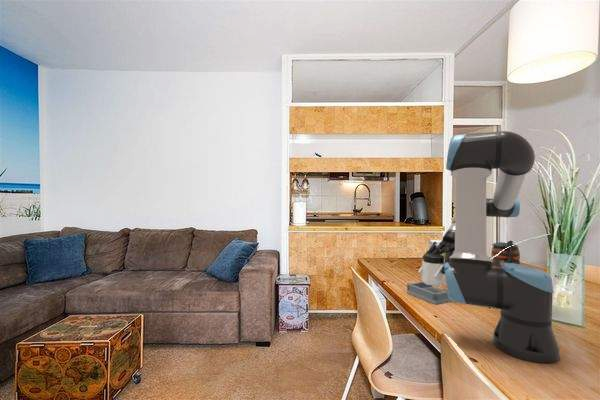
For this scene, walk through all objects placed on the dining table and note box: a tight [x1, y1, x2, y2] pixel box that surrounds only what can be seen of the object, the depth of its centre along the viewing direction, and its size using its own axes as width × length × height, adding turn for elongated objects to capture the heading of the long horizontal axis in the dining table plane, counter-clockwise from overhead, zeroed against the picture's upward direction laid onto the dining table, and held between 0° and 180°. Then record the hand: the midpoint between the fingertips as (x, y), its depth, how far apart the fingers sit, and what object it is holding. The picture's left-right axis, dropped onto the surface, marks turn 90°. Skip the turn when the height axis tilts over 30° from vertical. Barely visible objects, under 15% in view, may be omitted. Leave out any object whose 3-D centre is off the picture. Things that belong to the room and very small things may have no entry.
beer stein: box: [490, 240, 521, 268], centre depth 162 cm, size 19×15×20 cm
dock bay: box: [406, 281, 452, 305], centre depth 130 cm, size 15×14×4 cm
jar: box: [421, 253, 446, 287], centre depth 131 cm, size 9×8×12 cm
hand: (428, 276), depth 129 cm, fingers closed on jar, 8 cm apart
